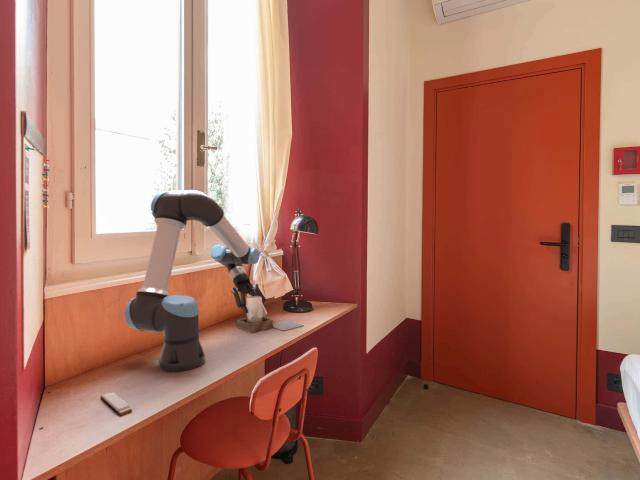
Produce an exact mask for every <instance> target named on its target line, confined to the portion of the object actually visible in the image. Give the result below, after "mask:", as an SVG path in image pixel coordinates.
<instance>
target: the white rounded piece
mask: <svg viewBox="0 0 640 480" xmlns="http://www.w3.org/2000/svg"><path fill="white" fill-rule="evenodd" d="M246 305H248V306H249V309H250V311H251V313H252V315H253V318H252V319H251V320H249V318H248V315H247V314H246V318H247V323H249V324H255V323H259V322H262V317H264V316H263V304H262V297H261V296H251V295H249V296H247V297H246Z"/></svg>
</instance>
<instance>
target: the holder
mask: <svg viewBox="0 0 640 480" xmlns="http://www.w3.org/2000/svg"><path fill="white" fill-rule="evenodd" d="M273 324H274V320H273V319H271V318H268V317H264V316H263V317H262V322H259V323H255V324H249V323H247V317H244V318H240V319H236V327H237V328H238V329H240V330H243V331H244V332H247V333H249V334H251V333H256V332H260V331H264V330H268V329H273Z"/></svg>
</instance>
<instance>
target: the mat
mask: <svg viewBox="0 0 640 480" xmlns="http://www.w3.org/2000/svg"><path fill="white" fill-rule="evenodd" d="M301 327H304V324H302V323H299V322H295V321H293V320H289V319H287V320H283V321H279V322H276V323H274V322H273V328H274V329H276V330H278V331H281V332H286V331H288V330H289V331H290V330H294V329H298V328H301ZM273 328H272V329H273Z"/></svg>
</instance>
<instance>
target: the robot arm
mask: <svg viewBox="0 0 640 480" xmlns="http://www.w3.org/2000/svg"><path fill="white" fill-rule="evenodd" d="M150 211H151V215H152V217H153V218H154V220H153V221H154V223H155V224H156V231H155V235H154V239H153V242H152V243H153V244H152V247H151V251H150V255H149V260H148V264H147V268H146V272H145V276H144V279H143V280H144V281H143V283H142V286H141V288H140V289H138V290H136V293H135V294H136V295H135V297H132V298H130V300H129V301H128V302H127V303H126V305H125V309H124V320H125V322H126V323H127V325H128V326H129V328H130V329H133V330H136V331H140V332H153V333H159V334H161V333H163V345H162V349H161V351H160V356H159V360H158V367H159V369H161V370H162V371H165V372H184V371H189V370H192V369H195V368H198V367H200V366H202V365H203V364H204V363H205V360H206V359H205V358H206V357H205V356H206V354H205V352H204V349H203V346H202V344H201V341H200V329H199V328H200V327H199V322H200V320H199V319H200V318H199V313H200V310H199V305H198V300H197V299H195V298H194V297H192V296H188V295H184V294H180V295H178V294H175V295H171V294H170V293H169V291H168V289H169V286H170V282H171V281H170V280H171V277H172V273H173V272H172V271H173V268H174V267H173V266H174V263H175V259H176V253H177V248H178V245H179V241H180V240H179V239H180V236H181V231H182V230H184V229H185V228H186V227H187V223H188V221H196V222H199V223H201V224H203V226H205V227H208V228H209V229H210V230H211V231H212V232H213V233H214V234H215V235H216V237H218V239H219V240H220V241H221V242H222V243H223V244H224V245H222V244H216V245H214V246H213V247H212V248H211V250H210V257H211V258H212V259H213V260H214V261H215V262H217V263H219V264H220V265H222V266H224V267H225V268H226V269H227V271H228V273H229V276H230V279H231V281H232V283H233V284H234V286H235V287H232V289H231V293H232V295H233V296H234V299H235V303H236V306H237V308H240V309H241V310H243V312H244V314H246V316H247V315H248V318H249V320H251V319H252V318H253V315H252V313H251V311H250V309H249V306H248V305H247V298H246V294H247V295H249V296H261V297H262V304H263V317H265V318H267V315H268V312H267V310H266V308H267V306H266V304H265V303H266V301H267V298H266V297H265V295H264V293H263V292H262V290H261V289H260V287H259V284H258V283H257V284H253V283H251V280H250V277H249V275H248V274H247V271H246V270H245V267H244V265H255V264H257V263H259V260H260V251H259V249H258V248H256V247H250V246H249V245H248V244H247V242H246V241H245V240H244V239H243V237H242V236H241V235H240V234H239V232H238V231H237V230H236V228H235V227H234V226H233V225H232V224H231V222H230V221H229V220H228V218H227V217H226V216H225V213H224V212H225V211H224V209H223V208H222V207H221V206H220V205H219V203H218V202H217V201H215V200H214V199H213V198H211V196H209V195H207V194H206V193H204V192H202V191H199V190H195V189H189V190H188V189H187V190H186V189H185V190H166V191H161V192H159V193H156V195H155V196H154V197H153V198H152V200H151V204H150Z"/></svg>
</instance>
